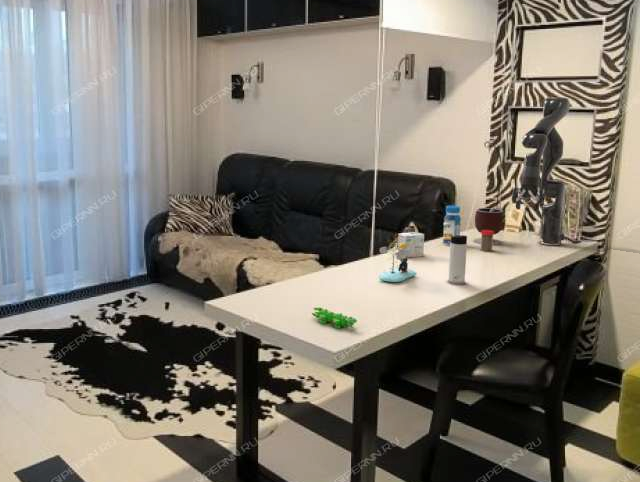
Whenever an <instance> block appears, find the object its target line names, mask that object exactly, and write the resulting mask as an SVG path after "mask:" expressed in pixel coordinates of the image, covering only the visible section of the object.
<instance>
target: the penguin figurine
mask: <svg viewBox="0 0 640 482" xmlns="http://www.w3.org/2000/svg"><path fill="white" fill-rule="evenodd" d="M406 245H407V244H406V243H404V244H403V243H402V244H400V245H398V244H397V246H396V247H397V248H396V249H397V251H395V250H393V251H392V252H393V253H392V252H389V253H390V254H391V255H392V257H390V258H388V259H387V261H389V260H392V262H391V266H392V267H389V270H388V271H387V270H385V269H384V270H383V272H382V273H380V274H379V277H378V278H379V280H381V281H383V282H388V283H390V282H391V283H398V282H399V283H400V282H403V281H404V280H406V279H408V278H411V277H414V276H416V275H417V272H416V271H415V270H412V269H411V268H409V267H408V266H409V263H408V262H409V261H410V260H409V259H408V258H409V257H408V255H410V254H411V253H410V252H409V249H407V247H406ZM387 249H388V247H387V246H382V247H380V248H379V252H380V255H383V254H386V253H388V250H387ZM398 250H399V251H398ZM395 259H396V260H397V261H395ZM398 261H400V263H399V264H398V265H397V267H396V268H395V263H398Z"/></svg>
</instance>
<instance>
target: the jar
mask: <svg viewBox="0 0 640 482" xmlns="http://www.w3.org/2000/svg"><path fill="white" fill-rule="evenodd" d="M481 238H482V240H481V243H480V251H482V252H493V246H494V245H493V239H494V235H482V234H481Z"/></svg>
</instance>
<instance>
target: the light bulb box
mask: <svg viewBox="0 0 640 482" xmlns="http://www.w3.org/2000/svg"><path fill="white" fill-rule="evenodd" d="M397 237H398V238H397V239H398V240H397V246H398V245H400V244H402V243H403V244H404V243H406V244H407V245H406V247H407V249H409V252H410V253H411V254H410V255H408V258H413V257H415V258H416V257H424V253H425V252H424V251H425V250H424V249H425V233H421V232H418V231H413V232H412V231H411V232H402V233H398V236H397ZM398 251H399V250H398V249H397V252H398Z"/></svg>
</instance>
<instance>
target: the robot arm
mask: <svg viewBox="0 0 640 482" xmlns="http://www.w3.org/2000/svg"><path fill="white" fill-rule="evenodd" d="M570 108H571V103H570V100H569V98H567V97H565V96H564V97H562V96H561V97H553V96H552V97H546V98H544V100H543V105H542V115H543V116H542V117H543V118H541V119H540V120H539V121H538V122H537V123H536V125H535V126H534V127H533V128H532V129H530V130H529V131H527V132H526V133H525V134H524V135H523V137H522V139H521V144H522V146H523V147H524V148H525V149H530V150H531V149H535V151H534V152H530V153H526V154H525V155H524V159H523V168H522V170H521V171H522V173H521V181H520V187H519V186H518V187H517V186H515V187H514V188H513V192H512V197H511V198H512V200H513V201H515V209H516V210H521V207H522V206H521V205H522V200H524V198H529V199H532V200H533V201H534V207H533V212H538V211H539V210H540V205H541V204H542V203H544V202H545V199H554V201H553V202H550V203H545V204H543V205H542V207H541V220H540V233H539V234H540V235H539V239H538V240H539V244H540V245H545V246H560V245H562V241H564V240H568V241H569V242H570V243H573V244H578V243H581V240H572V239H571V238H570V237H567V236H565V233H563V225H562V220H563V219H562V217H563V209H564V208H563V206H564V199H565V191H566V184H565V182H564V180H554V179H550V177H551V173H552V171H554V169H555V167H556V166H557V164H558V163H559V162H560V161H561V159H562V158H563V156H564V140H563V137H562V136H561V134H560V133H559V132H558V130H557V128H556V127H555V126H556V125H558V123H559V122H560V121H562V120H563V119H564V118H565V117H566V116H567V115H568V113H569V111H570ZM541 163H542V168H541ZM519 193H520V194H519ZM537 194H538V195H537Z"/></svg>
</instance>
